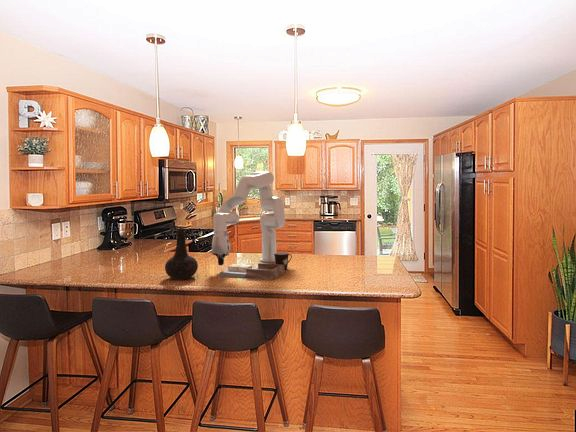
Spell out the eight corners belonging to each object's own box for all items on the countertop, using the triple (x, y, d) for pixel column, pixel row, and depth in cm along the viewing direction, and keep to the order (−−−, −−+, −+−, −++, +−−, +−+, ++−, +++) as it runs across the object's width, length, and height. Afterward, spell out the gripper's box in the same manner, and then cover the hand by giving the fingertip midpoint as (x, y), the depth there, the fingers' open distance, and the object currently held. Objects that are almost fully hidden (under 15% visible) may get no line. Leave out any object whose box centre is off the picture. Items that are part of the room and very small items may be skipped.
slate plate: (234, 269, 274) (234, 266, 274) (258, 271, 268) (258, 267, 268) (220, 275, 258) (219, 272, 257) (245, 277, 252) (245, 274, 252)
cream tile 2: (242, 269, 265) (242, 264, 265) (252, 269, 263) (252, 265, 263) (238, 271, 260) (238, 266, 260) (247, 271, 258) (247, 267, 257)
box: (259, 271, 268) (259, 262, 267) (284, 273, 262) (284, 264, 262) (246, 277, 252) (246, 268, 252) (272, 279, 246) (272, 270, 246)
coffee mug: (276, 271, 266) (276, 255, 265) (273, 268, 274) (272, 252, 273) (295, 270, 269) (295, 253, 268) (291, 267, 277) (291, 251, 276)
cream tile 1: (233, 268, 268) (232, 264, 268) (242, 268, 266) (242, 264, 265) (228, 270, 262) (227, 266, 262) (237, 271, 260) (237, 266, 260)
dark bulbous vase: (162, 282, 244) (160, 230, 242) (168, 274, 262) (166, 226, 259) (196, 281, 246) (194, 230, 243) (200, 273, 263) (198, 226, 261)
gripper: (234, 233, 266) (235, 264, 267) (212, 232, 271) (213, 263, 273) (228, 235, 259) (229, 267, 260) (205, 234, 264) (206, 265, 266)
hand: (220, 264), depth 267 cm, fingers closed
